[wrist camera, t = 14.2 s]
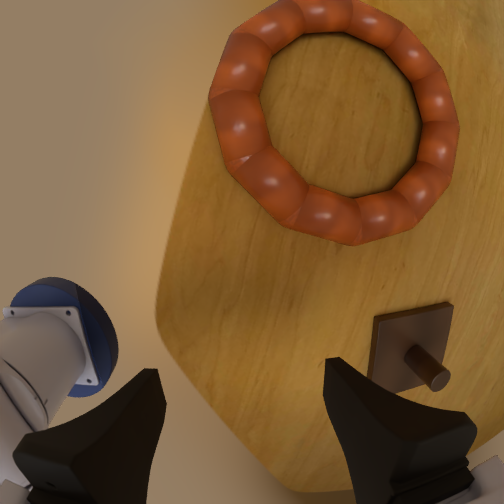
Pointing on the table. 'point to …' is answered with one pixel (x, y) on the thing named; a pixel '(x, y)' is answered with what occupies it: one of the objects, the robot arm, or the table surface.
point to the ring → (274, 164)
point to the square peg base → (411, 348)
